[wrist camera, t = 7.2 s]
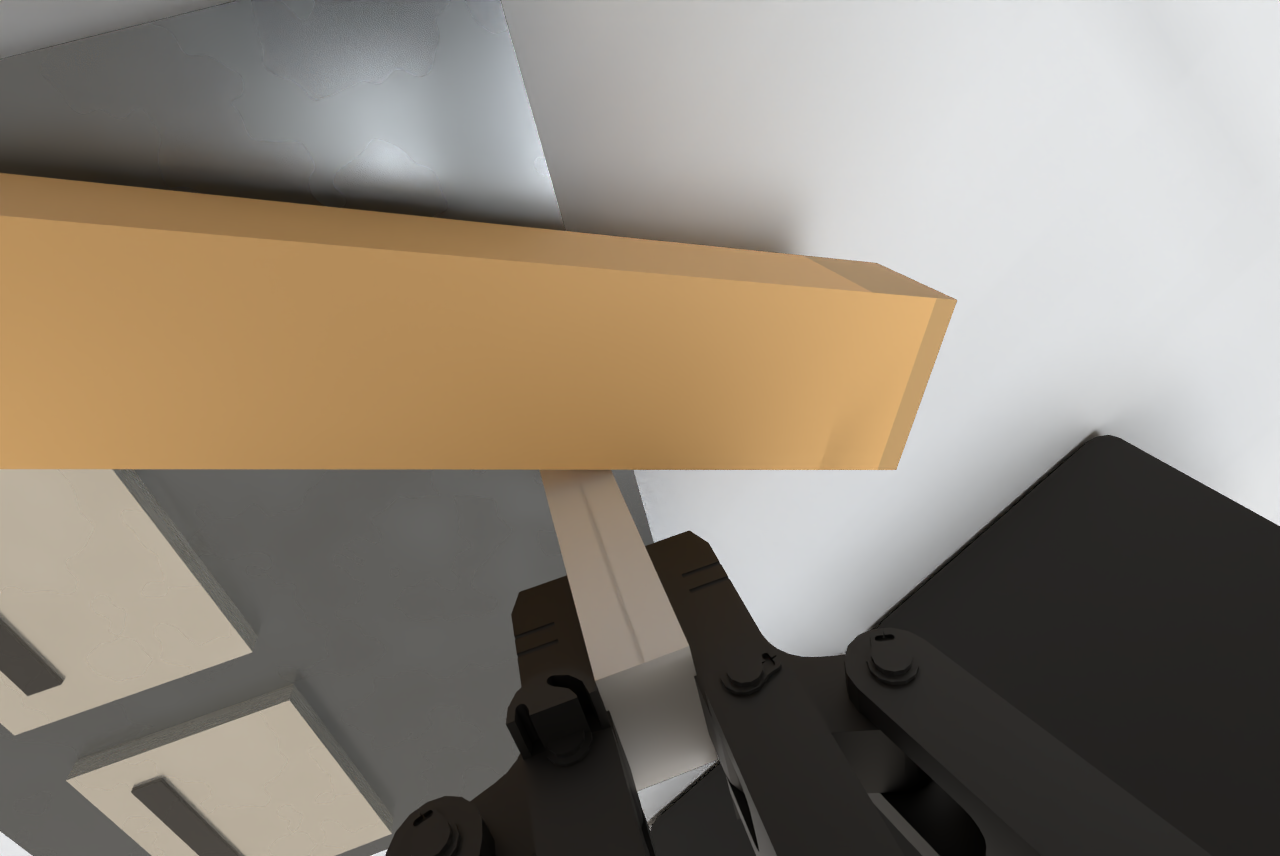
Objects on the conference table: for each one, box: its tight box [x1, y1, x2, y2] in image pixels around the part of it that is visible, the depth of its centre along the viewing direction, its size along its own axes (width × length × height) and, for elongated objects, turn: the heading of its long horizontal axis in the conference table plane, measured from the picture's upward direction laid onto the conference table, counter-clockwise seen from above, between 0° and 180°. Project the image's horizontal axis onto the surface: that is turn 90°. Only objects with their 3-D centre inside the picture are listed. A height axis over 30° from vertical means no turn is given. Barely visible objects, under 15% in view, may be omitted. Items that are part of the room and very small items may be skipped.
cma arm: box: [0, 173, 957, 470], centre depth 13 cm, size 20×4×3 cm, turn 82°
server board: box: [0, 0, 654, 856], centre depth 18 cm, size 24×20×3 cm
